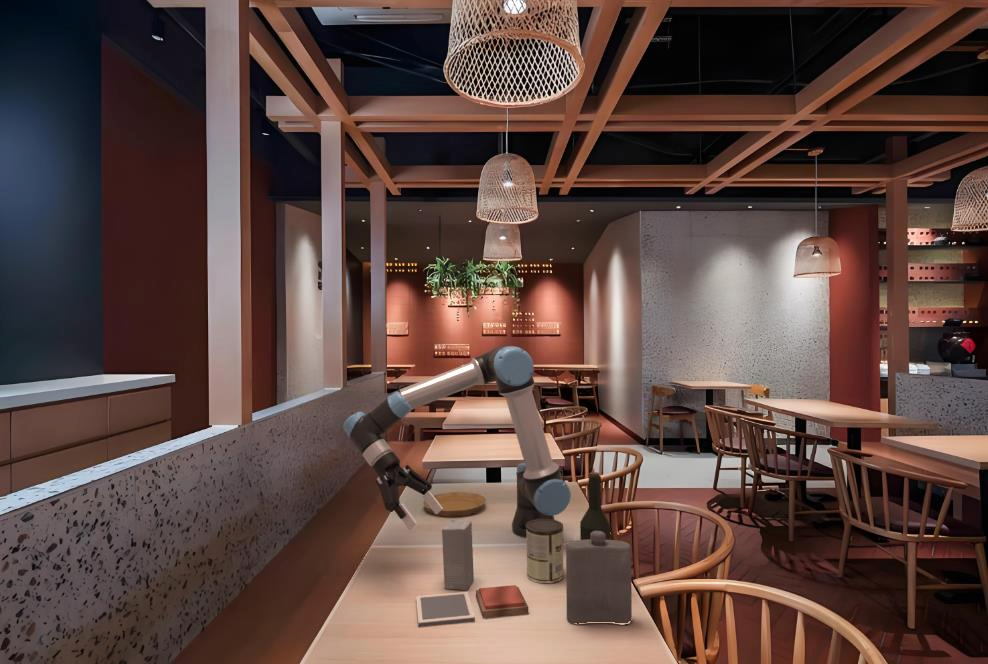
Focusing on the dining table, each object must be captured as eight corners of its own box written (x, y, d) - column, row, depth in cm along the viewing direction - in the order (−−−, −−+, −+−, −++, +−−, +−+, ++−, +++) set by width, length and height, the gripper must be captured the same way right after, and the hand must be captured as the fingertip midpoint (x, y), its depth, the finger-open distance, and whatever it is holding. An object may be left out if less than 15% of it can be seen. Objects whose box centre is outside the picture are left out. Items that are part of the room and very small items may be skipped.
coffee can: (531, 566, 157) (531, 516, 158) (567, 570, 154) (566, 520, 154) (521, 581, 148) (521, 528, 148) (559, 586, 144) (558, 532, 145)
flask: (628, 613, 130) (627, 528, 130) (633, 626, 124) (633, 537, 124) (565, 612, 131) (564, 528, 131) (567, 625, 125) (566, 537, 125)
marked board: (467, 595, 140) (467, 591, 140) (474, 621, 127) (474, 617, 127) (416, 600, 137) (416, 596, 137) (418, 627, 124) (418, 622, 124)
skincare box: (467, 591, 142) (467, 530, 142) (440, 589, 143) (440, 528, 143) (475, 577, 150) (474, 519, 150) (449, 575, 152) (449, 518, 152)
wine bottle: (605, 598, 137) (604, 478, 138) (574, 590, 142) (573, 474, 142) (616, 585, 144) (615, 471, 145) (587, 578, 149) (585, 468, 149)
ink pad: (518, 592, 141) (518, 583, 141) (528, 613, 130) (528, 603, 130) (475, 596, 139) (475, 587, 139) (482, 618, 128) (482, 608, 128)
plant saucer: (412, 516, 204) (412, 507, 204) (437, 497, 227) (437, 489, 227) (473, 522, 197) (473, 512, 197) (493, 502, 220) (493, 494, 220)
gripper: (399, 458, 170) (441, 513, 163) (345, 477, 147) (392, 542, 140) (413, 443, 167) (457, 498, 161) (361, 459, 145) (409, 524, 138)
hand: (427, 518), depth 151 cm, fingers open, 13 cm apart
